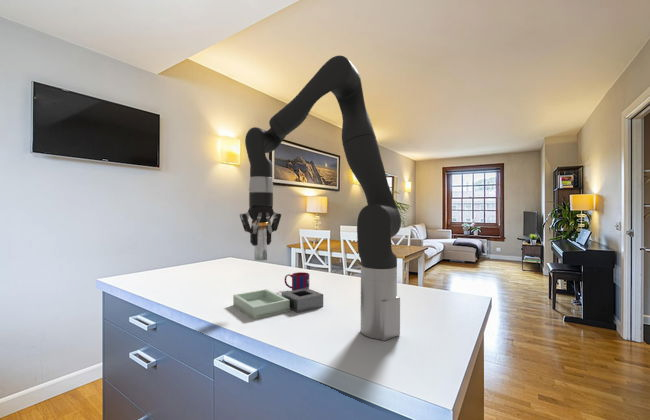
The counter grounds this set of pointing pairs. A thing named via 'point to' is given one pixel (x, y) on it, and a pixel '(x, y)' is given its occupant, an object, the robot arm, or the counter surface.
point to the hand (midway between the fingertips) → (261, 244)
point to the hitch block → (303, 299)
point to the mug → (299, 280)
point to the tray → (261, 303)
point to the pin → (261, 242)
